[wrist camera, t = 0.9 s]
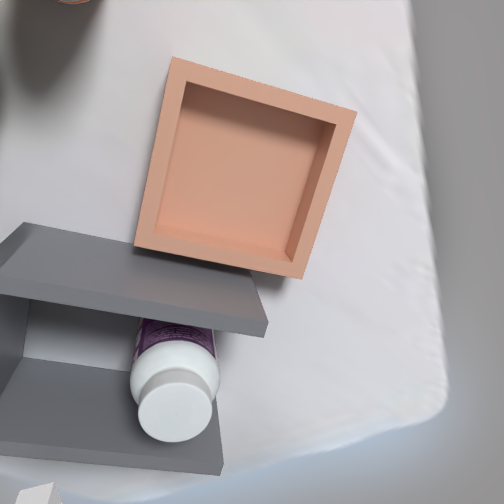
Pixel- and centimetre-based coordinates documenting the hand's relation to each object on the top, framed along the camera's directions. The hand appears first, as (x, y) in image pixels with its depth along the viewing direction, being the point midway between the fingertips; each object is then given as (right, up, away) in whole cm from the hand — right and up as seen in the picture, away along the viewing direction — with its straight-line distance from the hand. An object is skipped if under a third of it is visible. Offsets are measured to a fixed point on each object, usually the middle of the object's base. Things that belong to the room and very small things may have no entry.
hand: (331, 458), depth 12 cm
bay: (-11, +1, +21) cm, 24 cm away
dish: (-3, +10, +19) cm, 22 cm away
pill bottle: (-8, 0, +22) cm, 24 cm away
